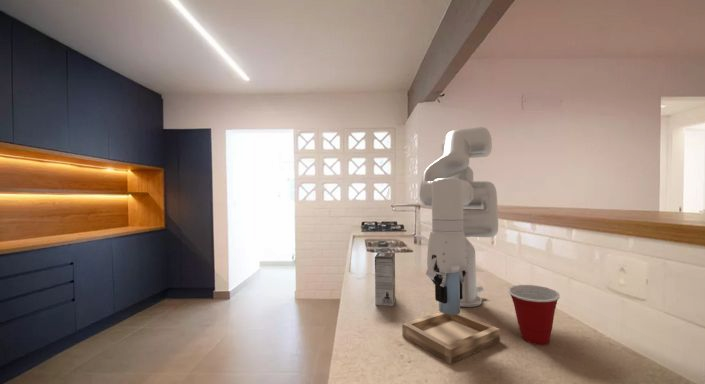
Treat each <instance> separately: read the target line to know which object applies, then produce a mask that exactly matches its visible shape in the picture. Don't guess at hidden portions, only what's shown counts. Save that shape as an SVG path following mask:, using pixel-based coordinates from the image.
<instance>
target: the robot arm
mask: <svg viewBox="0 0 705 384" xmlns="http://www.w3.org/2000/svg"><path fill="white" fill-rule="evenodd" d="M492 144H493V143H492V135H491V132H490V131H489V129H488V128H486V127H483V126H478V127H469V128H468V127H467V128H460V129H455V130H454V129H453V130H451V131H448V133H447V134H446V135H445V137H444V140H443V142H442V144H441V151H442V152H441V157H439V158H437V160H435V161H434V162H432V163H431V164H430V165H429V166H428V167H427V168H426V169H425V170H424V172H423V174H422V178H421V182H420V186H419V194H418V195H419V199H420V202H421V203H422V204H423V205H424V206H425V207H431V221H432V222H431V227H432V229H431V230H432V231H431V232H430V233H429V237H428V245H427V254H426V255H427V256H426V261H427V262H426V264H427V266H426V267H427V270H426V272H425V275H426V276H427V277H428V278H430V280H431V282H432V284H433V285H434V295H435V296H434V297H435V300H436V302H438V303H439V302H441V303H444V304H445V303H447V287H446V286H445V282H446V276H447V274H449V273H450V272H451V268H452V266H456V265H460V272H459V278H460V307H462V308H463V307H464V308H473V307H474V308H475V307H478V306H481V305H482V304H483V303H482V297H480V296H478V294H479V293H481V292H483V291H484V287H483V286H482V285H478V286H477V270H476V267H477V266H476V249H475V247H474V245H473V244H472V243H471V242H470V241H469V239H468V238H493V237H495V236H496V235H497V234H498V232H499V210H498V209H499V208H498V193H497V189H496V186H495V184H494V183H493V182H491V181H489V180H488V181H487V180H481V181H479V180H478V181H474V171H473V169H472V168H471V167H470V159H474V158H477V159H478V158H485V157H488V156H489V155H491V153H492V147H493V145H492ZM439 275H441V279H440V278H439Z"/></svg>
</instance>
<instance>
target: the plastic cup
mask: <svg viewBox="0 0 705 384" xmlns="http://www.w3.org/2000/svg"><path fill="white" fill-rule="evenodd" d="M507 292H508V293H509V295H510V296H511V297H510V298H511V300H512V303H513V306H514V310H515V312H514V313H515V315H516V316H515V317H516V319H517V324H518V328H519V333H520V336H521V338H522V339H523V340H524V341H525V342H527V343H530V344H534V345H539V346H545V345H546V346H547V345H548V344H549V343H550V340H551V335H552V330H553V326H554V319H555V318H554V317H555V311H556V309H557V304H558V300H559V299H560V293H559V292H558V291H556V290H554V289H552V288H549V287H546V286H540V285H533V284H519V285H517V284H516V285H513V286H510V287H508V290H507Z"/></svg>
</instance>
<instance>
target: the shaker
mask: <svg viewBox="0 0 705 384" xmlns="http://www.w3.org/2000/svg"><path fill="white" fill-rule="evenodd" d="M459 272H460V265H456V266H452V268H451V272H450V273H449V274H447V276H446V282H445V286H446V287H447V303H445V304H444V303H441V302H439V301H438V311H439V312H442V313H444V314H449V315H457V314H460V313H461V306H460V278H459ZM439 278H440V279H441V275H439Z"/></svg>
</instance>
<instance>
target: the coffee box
mask: <svg viewBox="0 0 705 384" xmlns="http://www.w3.org/2000/svg"><path fill="white" fill-rule="evenodd" d="M395 255H396V254H395V252H386V251H385V252H383V251H381V252H380V251H378V252H377V253H376V254H375V256H374V287H375V288H374V295H375V296H374V298H375V303H374V304H375V305H376V306H387V307H388V306H389V307H394V306H395V302H396V258H395V257H396V256H395Z"/></svg>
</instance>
